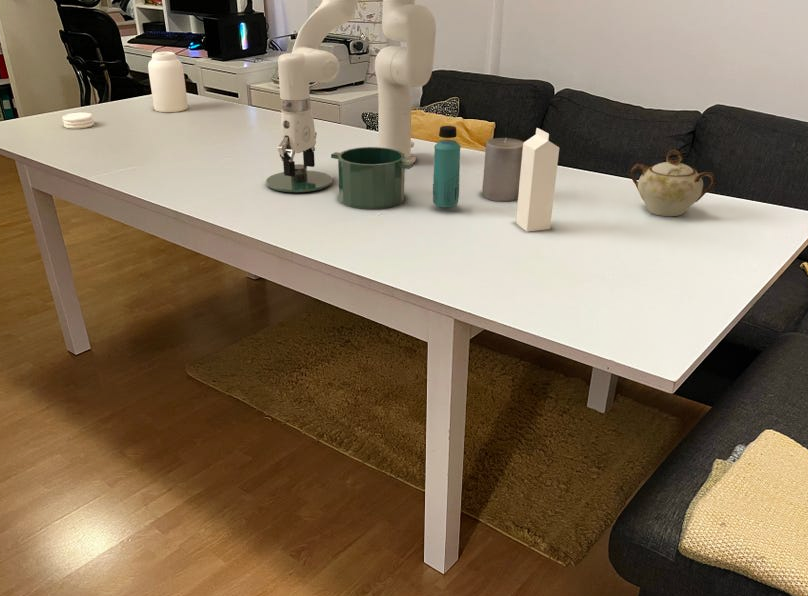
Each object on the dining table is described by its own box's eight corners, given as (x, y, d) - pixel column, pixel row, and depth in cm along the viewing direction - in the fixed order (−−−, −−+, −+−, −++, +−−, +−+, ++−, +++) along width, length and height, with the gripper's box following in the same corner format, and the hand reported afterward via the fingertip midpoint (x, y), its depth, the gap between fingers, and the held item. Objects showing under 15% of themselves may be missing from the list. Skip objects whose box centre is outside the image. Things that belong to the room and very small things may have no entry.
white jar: (148, 112, 278) (139, 54, 268) (162, 105, 289) (154, 49, 279) (180, 113, 276) (172, 55, 266) (193, 106, 287) (186, 50, 277)
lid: (289, 171, 213) (288, 154, 211) (344, 179, 206) (343, 162, 204) (253, 188, 199) (251, 170, 197) (310, 198, 192) (309, 179, 190)
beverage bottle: (456, 214, 182) (461, 130, 172) (429, 212, 183) (432, 129, 173) (459, 205, 188) (464, 124, 177) (433, 203, 189) (436, 122, 178)
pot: (349, 183, 203) (348, 142, 197) (423, 195, 194) (425, 153, 189) (318, 201, 190) (316, 158, 185) (396, 214, 182) (396, 169, 176)
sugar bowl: (616, 212, 183) (626, 151, 176) (633, 196, 194) (643, 137, 186) (700, 227, 174) (714, 163, 167) (713, 209, 185) (727, 148, 178)
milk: (526, 232, 172) (536, 135, 160) (515, 223, 177) (523, 128, 165) (550, 229, 173) (561, 132, 162) (538, 220, 178) (548, 126, 167)
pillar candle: (497, 187, 200) (501, 130, 193) (527, 195, 194) (533, 137, 187) (474, 195, 194) (477, 137, 187) (504, 204, 188) (509, 144, 181)
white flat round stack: (73, 121, 265) (70, 111, 263) (99, 122, 263) (97, 112, 262) (58, 128, 256) (56, 118, 254) (86, 129, 255) (83, 119, 253)
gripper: (289, 113, 184) (294, 181, 193) (325, 100, 197) (328, 164, 206) (264, 110, 187) (269, 177, 196) (301, 97, 200) (304, 161, 209)
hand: (299, 170), depth 201 cm, fingers open, 9 cm apart
